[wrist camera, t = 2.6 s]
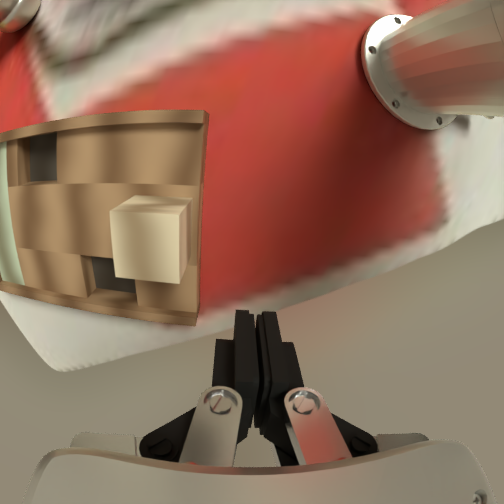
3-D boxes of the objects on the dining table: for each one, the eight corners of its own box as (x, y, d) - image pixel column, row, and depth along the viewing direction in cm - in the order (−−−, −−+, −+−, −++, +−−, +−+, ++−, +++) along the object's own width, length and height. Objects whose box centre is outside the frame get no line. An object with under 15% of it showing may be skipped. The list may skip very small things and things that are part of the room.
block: (192, 198, 22) (179, 214, 17) (191, 255, 24) (179, 283, 19) (135, 195, 21) (109, 211, 17) (137, 250, 23) (115, 276, 19)
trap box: (209, 114, 21) (203, 110, 18) (199, 306, 29) (195, 326, 26) (-7, 137, 20) (-25, 141, 16) (10, 277, 27) (-4, 289, 24)
